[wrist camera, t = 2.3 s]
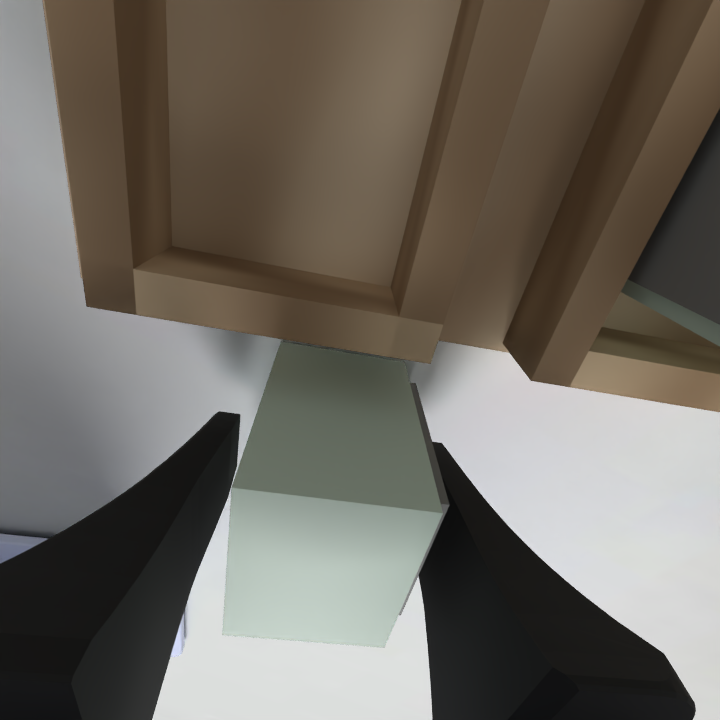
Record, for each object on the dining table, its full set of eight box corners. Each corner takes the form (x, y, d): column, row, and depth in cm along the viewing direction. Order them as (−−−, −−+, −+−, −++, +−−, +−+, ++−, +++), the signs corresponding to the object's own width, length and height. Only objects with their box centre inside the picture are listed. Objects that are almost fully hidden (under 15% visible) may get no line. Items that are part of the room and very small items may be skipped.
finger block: (266, 459, 15) (222, 635, 10) (281, 341, 12) (231, 487, 7) (382, 474, 15) (399, 649, 10) (416, 363, 13) (462, 515, 8)
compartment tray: (106, 265, 11) (24, 306, 8) (42, -342, 6) (-199, -722, 4) (730, 376, 13) (831, 439, 11) (1019, -6, 9) (1339, -76, 6)
